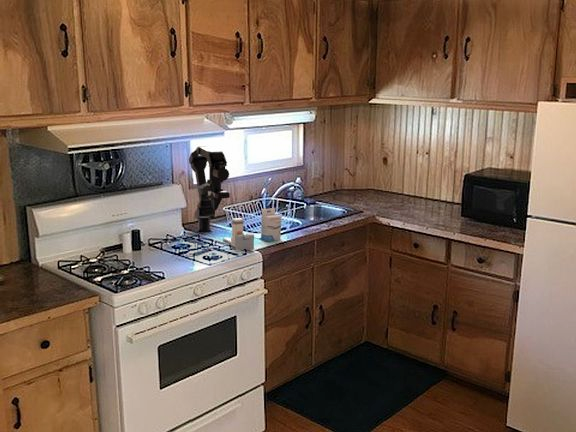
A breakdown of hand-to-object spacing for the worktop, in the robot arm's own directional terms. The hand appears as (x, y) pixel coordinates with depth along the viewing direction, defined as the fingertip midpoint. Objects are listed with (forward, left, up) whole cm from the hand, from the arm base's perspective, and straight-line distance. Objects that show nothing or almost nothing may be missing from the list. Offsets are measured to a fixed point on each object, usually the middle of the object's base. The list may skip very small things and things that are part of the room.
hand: (215, 210), depth 296 cm
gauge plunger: (+23, +11, -8) cm, 26 cm away
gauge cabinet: (+24, +11, -13) cm, 29 cm away
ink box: (+7, +26, -13) cm, 30 cm away
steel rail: (+15, +8, -13) cm, 21 cm away
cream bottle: (+19, +9, -13) cm, 24 cm away
